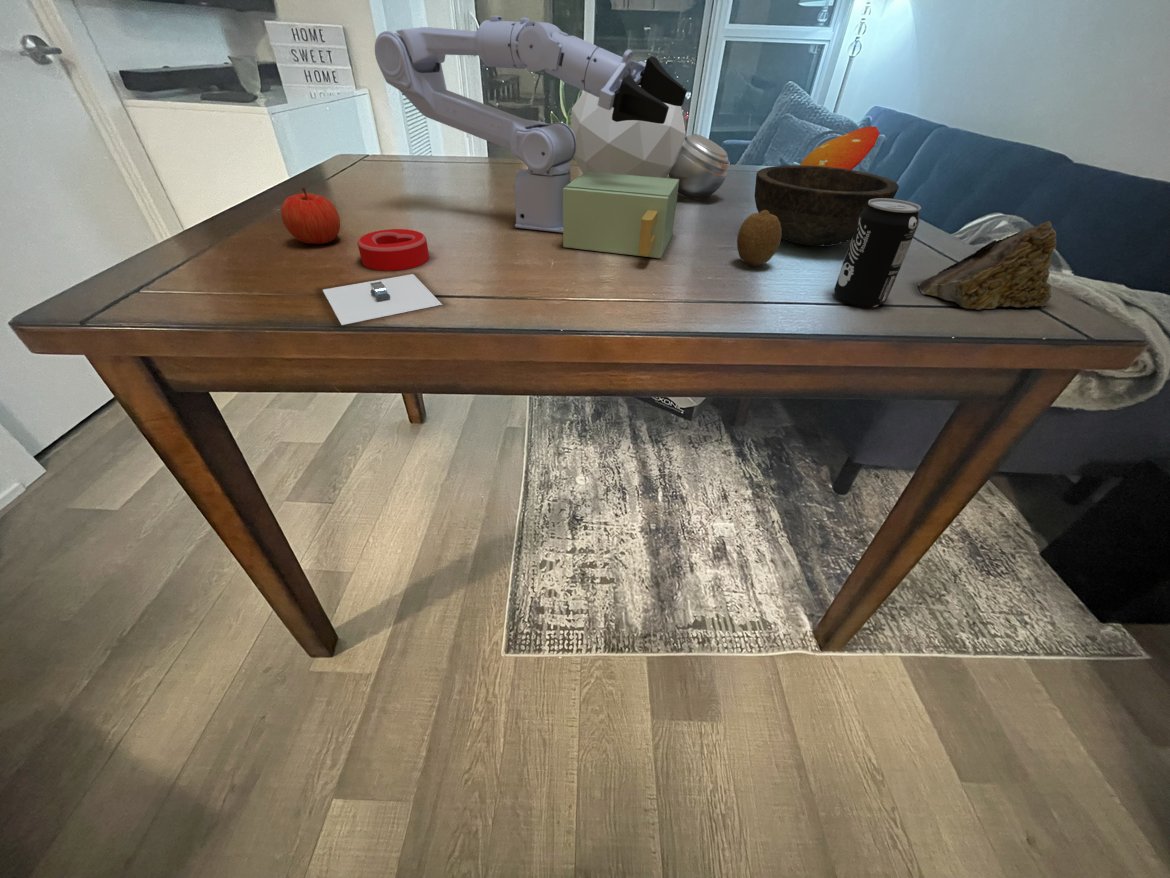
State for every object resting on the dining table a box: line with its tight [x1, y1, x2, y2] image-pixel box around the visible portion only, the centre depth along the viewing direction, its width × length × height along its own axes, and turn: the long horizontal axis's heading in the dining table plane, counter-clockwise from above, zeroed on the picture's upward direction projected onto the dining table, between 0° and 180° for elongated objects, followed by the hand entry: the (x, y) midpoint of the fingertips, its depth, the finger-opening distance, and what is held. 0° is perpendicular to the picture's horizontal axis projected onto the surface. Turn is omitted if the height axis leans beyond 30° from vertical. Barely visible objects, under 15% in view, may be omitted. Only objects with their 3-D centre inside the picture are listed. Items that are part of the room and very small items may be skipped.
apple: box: [280, 186, 341, 245], centre depth 78 cm, size 8×8×8 cm
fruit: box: [736, 210, 782, 267], centre depth 75 cm, size 6×6×8 cm
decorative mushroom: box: [799, 126, 880, 170], centre depth 102 cm, size 15×21×15 cm
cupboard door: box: [562, 187, 669, 259], centre depth 75 cm, size 6×16×9 cm, turn 74°
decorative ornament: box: [357, 228, 430, 272], centre depth 74 cm, size 10×10×3 cm
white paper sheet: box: [322, 273, 443, 326], centre depth 64 cm, size 12×12×2 cm
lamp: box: [570, 85, 731, 200], centre depth 104 cm, size 23×35×24 cm, turn 86°
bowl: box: [753, 164, 900, 247], centre depth 84 cm, size 22×22×10 cm
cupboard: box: [566, 172, 679, 258], centre depth 82 cm, size 12×16×9 cm
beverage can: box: [833, 198, 922, 309], centre depth 64 cm, size 7×7×12 cm
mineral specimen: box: [917, 220, 1058, 310], centre depth 69 cm, size 12×13×15 cm
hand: (675, 106), depth 73 cm, fingers open, 7 cm apart
